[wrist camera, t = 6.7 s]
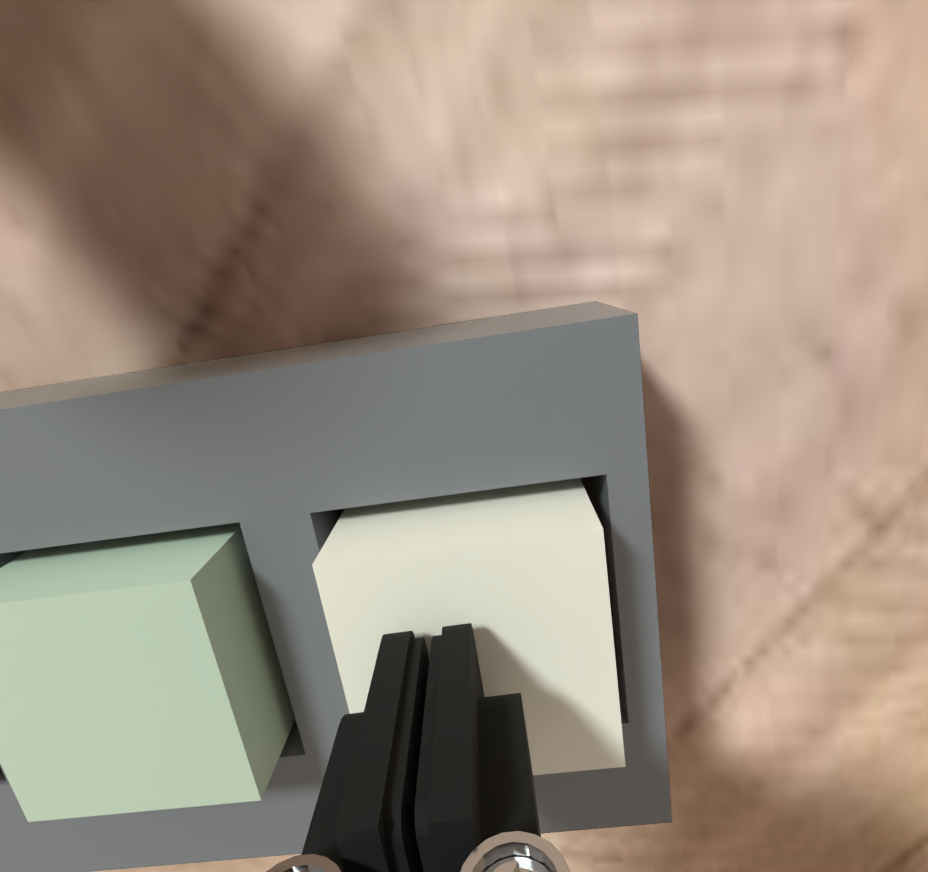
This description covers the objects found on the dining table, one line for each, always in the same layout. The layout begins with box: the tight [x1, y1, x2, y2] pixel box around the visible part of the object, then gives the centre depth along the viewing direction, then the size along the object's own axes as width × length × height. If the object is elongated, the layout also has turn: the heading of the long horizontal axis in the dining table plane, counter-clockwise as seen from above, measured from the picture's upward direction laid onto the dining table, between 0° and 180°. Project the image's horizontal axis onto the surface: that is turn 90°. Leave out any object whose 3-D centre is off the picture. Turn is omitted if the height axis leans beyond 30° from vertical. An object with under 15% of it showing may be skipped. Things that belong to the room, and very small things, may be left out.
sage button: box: [0, 522, 295, 822], centre depth 13 cm, size 5×5×4 cm
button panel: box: [0, 301, 672, 872], centre depth 15 cm, size 23×12×4 cm, turn 99°
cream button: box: [312, 478, 625, 775], centre depth 13 cm, size 5×5×4 cm
